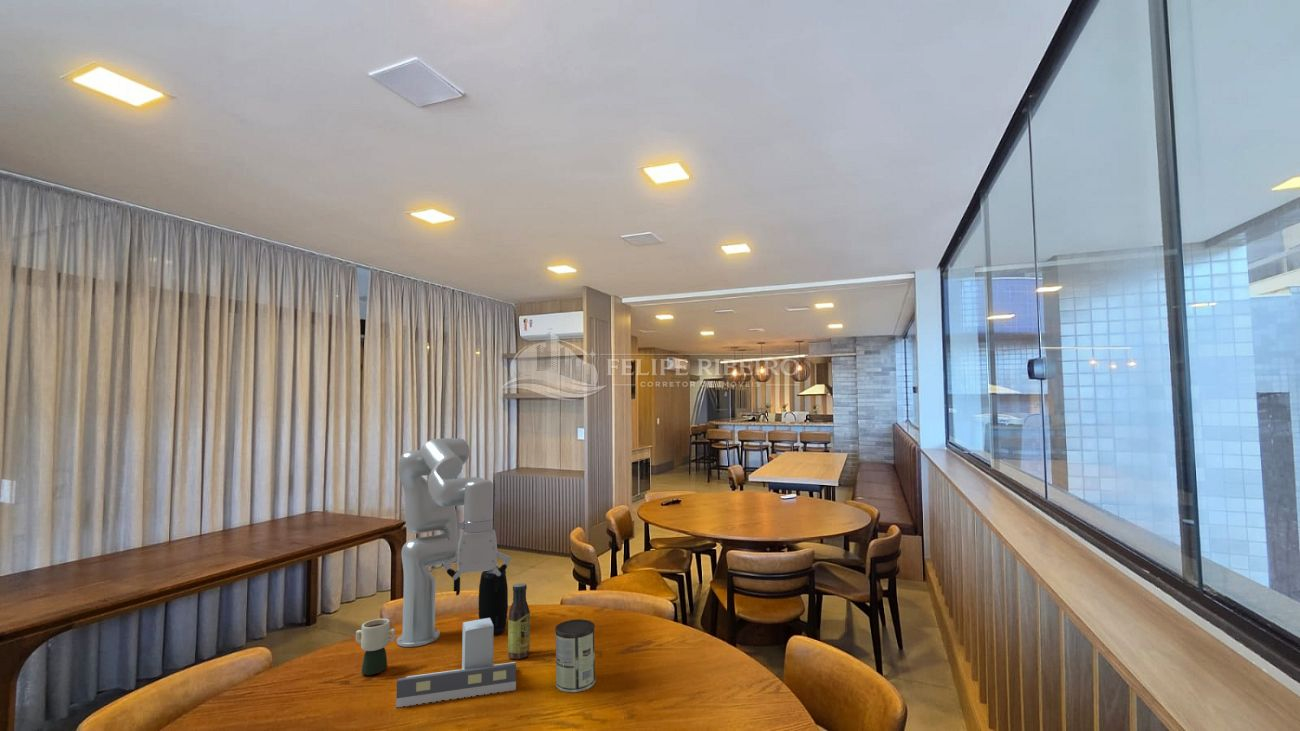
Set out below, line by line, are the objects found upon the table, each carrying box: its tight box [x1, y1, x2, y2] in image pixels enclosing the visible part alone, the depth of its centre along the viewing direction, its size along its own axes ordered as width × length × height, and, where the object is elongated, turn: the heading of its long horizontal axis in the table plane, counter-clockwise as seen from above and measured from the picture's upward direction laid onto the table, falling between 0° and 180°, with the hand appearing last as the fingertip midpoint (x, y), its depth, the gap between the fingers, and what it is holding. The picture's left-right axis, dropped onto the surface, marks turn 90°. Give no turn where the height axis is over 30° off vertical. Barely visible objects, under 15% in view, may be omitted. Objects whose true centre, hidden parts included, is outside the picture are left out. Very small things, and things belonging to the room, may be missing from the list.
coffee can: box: [554, 618, 596, 693], centre depth 137 cm, size 10×10×14 cm
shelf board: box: [395, 661, 517, 709], centre depth 135 cm, size 12×28×2 cm, turn 105°
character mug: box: [355, 618, 396, 676], centre depth 146 cm, size 11×7×13 cm, turn 91°
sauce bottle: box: [507, 582, 531, 660], centre depth 155 cm, size 6×6×20 cm
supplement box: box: [461, 618, 495, 670], centre depth 138 cm, size 7×7×13 cm
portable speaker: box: [478, 569, 509, 636], centre depth 174 cm, size 9×9×20 cm
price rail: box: [395, 662, 517, 699], centre depth 131 cm, size 1×28×4 cm, turn 105°
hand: (477, 592), depth 140 cm, fingers open, 9 cm apart
